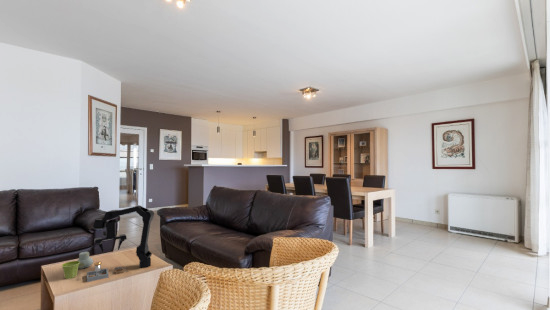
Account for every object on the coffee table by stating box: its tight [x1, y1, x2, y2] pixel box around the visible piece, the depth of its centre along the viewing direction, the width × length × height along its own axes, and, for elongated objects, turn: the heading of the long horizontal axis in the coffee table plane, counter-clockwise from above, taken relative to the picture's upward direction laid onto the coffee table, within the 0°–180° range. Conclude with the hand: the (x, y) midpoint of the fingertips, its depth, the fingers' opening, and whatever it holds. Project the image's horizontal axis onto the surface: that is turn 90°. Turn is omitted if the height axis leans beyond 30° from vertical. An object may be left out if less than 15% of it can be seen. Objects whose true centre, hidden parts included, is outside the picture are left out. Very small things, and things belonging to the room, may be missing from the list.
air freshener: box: [76, 251, 94, 270], centre depth 190 cm, size 11×8×10 cm
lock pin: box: [93, 261, 102, 276], centre depth 172 cm, size 4×4×9 cm
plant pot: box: [61, 260, 80, 280], centre depth 173 cm, size 9×9×9 cm
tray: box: [86, 267, 110, 283], centre depth 172 cm, size 11×11×3 cm
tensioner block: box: [109, 266, 129, 277], centre depth 180 cm, size 10×11×2 cm
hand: (110, 251), depth 186 cm, fingers open, 9 cm apart
